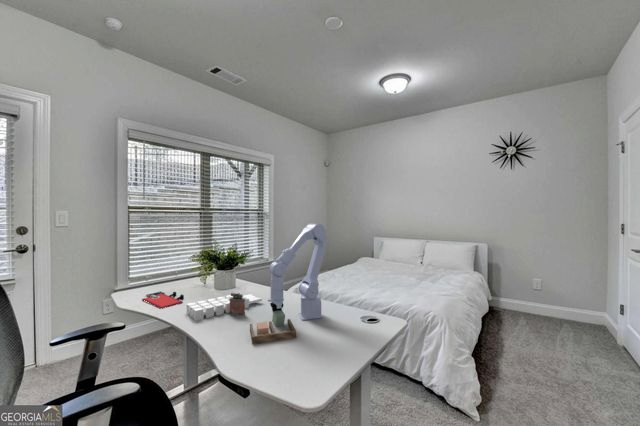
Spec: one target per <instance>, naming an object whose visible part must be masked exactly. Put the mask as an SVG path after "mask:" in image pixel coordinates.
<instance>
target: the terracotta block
mask: <svg viewBox="0 0 640 426" xmlns="http://www.w3.org/2000/svg"><path fill="white" fill-rule="evenodd" d="M266 333H269V334H270V329H269V323H268V322H267V321H265V322H256V335H259V334H263V335H264V334H266Z"/></svg>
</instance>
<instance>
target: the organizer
mask: <svg viewBox="0 0 640 426" xmlns="http://www.w3.org/2000/svg"><path fill="white" fill-rule="evenodd" d="M231 297H233V296H231V294H229V295H224V296H218V297H215V298H213V297H212V298H209V299H206V300H203V299H202V300H200V301H199V300H198V301H196V302H190V303H186V314H187V315H188V316H189V317H191V318H192V319H193V320H194V321H200V320H204V318H206V319H208V318H213V317H215V316H220V315H223V314H225V313H226V314H229V312H230V300H229V298H231ZM242 298H245V309H248V308H250V305H251V304H255V303H259V302H262V301H263V298H262V297H257V296H255V295H254V293H250V294H249V293H248V294H245V295H243V297H242Z"/></svg>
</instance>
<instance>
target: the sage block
mask: <svg viewBox="0 0 640 426" xmlns="http://www.w3.org/2000/svg"><path fill="white" fill-rule="evenodd" d="M285 321H286V314H285V313H284V311H283V309H282V310H281V311H280V310H279V311H274V312H273V311H272V319H271V322H272V324H273V326H274V328H275V327H278V326H279V327H280V326H283V325H285Z"/></svg>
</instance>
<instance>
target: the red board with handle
mask: <svg viewBox="0 0 640 426" xmlns="http://www.w3.org/2000/svg"><path fill="white" fill-rule="evenodd" d="M147 295H148V296H147ZM146 296H147V297H144V298H142V299H141V300H145V301H147V302H149V303H151V304H153V305H155V306H154V307H156V306H157V307H156V308H158V307H159V308H158V309H160V308H162V309H165V307H166V308H170V307H173V306H176V304H177V305H180V304H184V302H183V301H181V300H184V299H185V298H184V297H185V296H184V294H180V296H179V297H177V292H176V291H173V292H172V293H171V294H169V295H168V294H166V292H163V291H155V292H153V293H148V294H146ZM149 296H150V297H149ZM174 296H176V298H175V297H174ZM147 302H146V303H147ZM149 303H148V304H149ZM151 304H150V305H151ZM153 305H152V306H153ZM169 306H170V307H169Z"/></svg>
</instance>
